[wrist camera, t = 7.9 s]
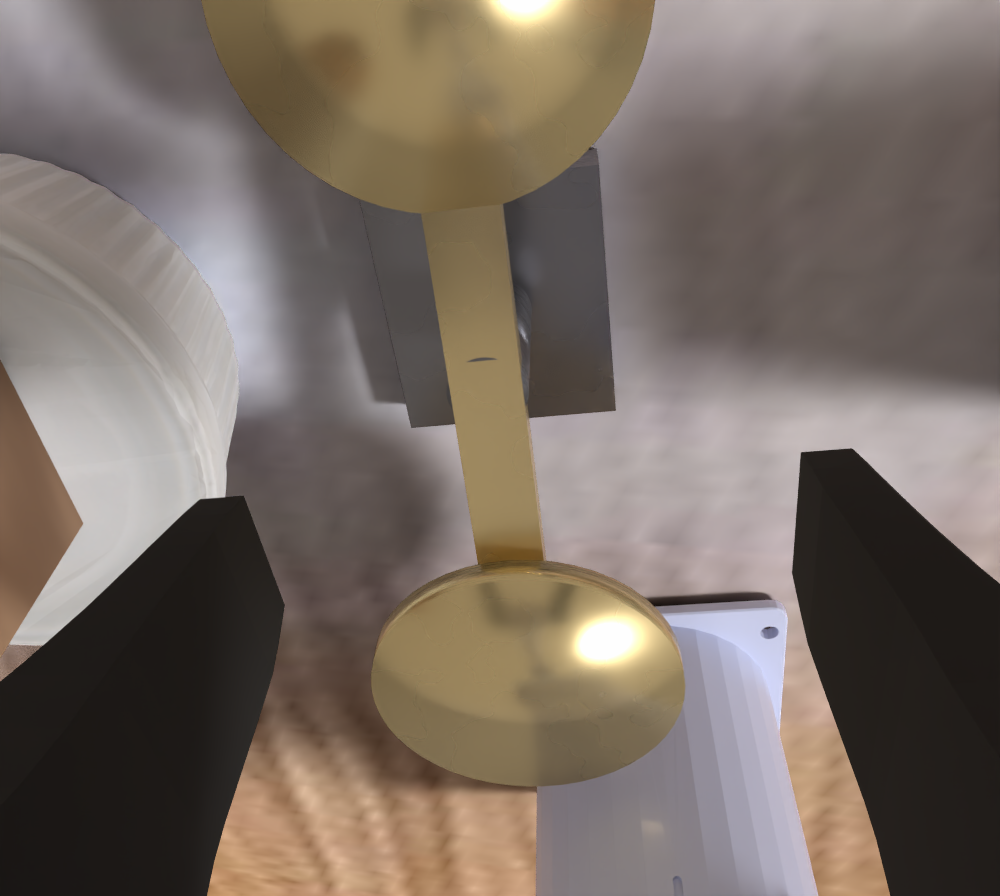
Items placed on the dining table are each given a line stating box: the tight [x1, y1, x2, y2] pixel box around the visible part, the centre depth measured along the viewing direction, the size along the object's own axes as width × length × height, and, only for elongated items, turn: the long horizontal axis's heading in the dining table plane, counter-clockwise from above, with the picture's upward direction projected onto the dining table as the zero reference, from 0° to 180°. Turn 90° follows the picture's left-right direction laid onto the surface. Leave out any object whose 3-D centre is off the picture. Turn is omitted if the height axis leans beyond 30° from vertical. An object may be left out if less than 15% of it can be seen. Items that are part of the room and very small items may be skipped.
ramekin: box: [0, 153, 239, 646], centre depth 21 cm, size 11×11×5 cm
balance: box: [201, 0, 685, 786], centre depth 19 cm, size 21×7×6 cm, turn 7°
